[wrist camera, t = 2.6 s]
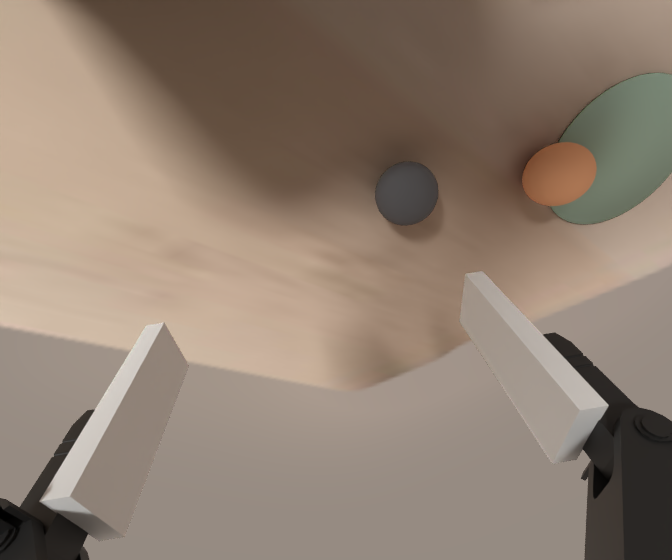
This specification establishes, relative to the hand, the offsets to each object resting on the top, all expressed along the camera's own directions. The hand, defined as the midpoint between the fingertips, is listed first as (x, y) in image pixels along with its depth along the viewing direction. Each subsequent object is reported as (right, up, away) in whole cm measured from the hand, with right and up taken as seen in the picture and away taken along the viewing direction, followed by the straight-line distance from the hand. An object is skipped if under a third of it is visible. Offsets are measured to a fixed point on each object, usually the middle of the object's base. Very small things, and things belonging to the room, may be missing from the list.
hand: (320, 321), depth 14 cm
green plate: (+29, +14, +17) cm, 36 cm away
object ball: (+21, +11, +14) cm, 28 cm away
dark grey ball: (+7, +10, +14) cm, 18 cm away
